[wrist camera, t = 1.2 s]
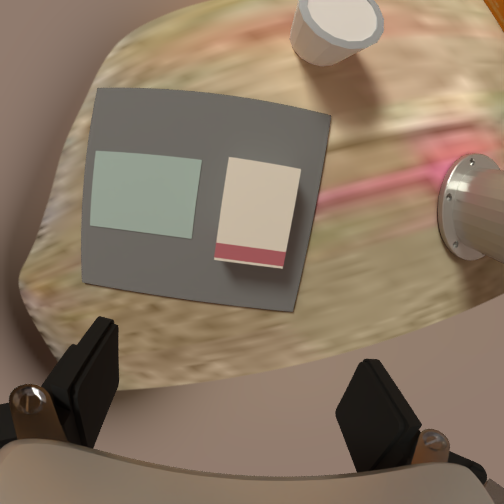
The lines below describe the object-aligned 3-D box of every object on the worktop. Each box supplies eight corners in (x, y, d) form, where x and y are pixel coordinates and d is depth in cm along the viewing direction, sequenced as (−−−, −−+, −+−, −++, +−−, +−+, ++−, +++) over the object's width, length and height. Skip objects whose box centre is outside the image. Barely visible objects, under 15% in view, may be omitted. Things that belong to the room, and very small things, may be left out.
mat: (329, 116, 25) (331, 115, 25) (291, 309, 30) (292, 312, 30) (99, 88, 23) (97, 87, 22) (83, 280, 28) (81, 282, 27)
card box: (228, 157, 25) (228, 156, 22) (291, 168, 26) (301, 169, 23) (215, 247, 28) (213, 259, 24) (276, 255, 28) (282, 268, 25)
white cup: (313, 1, 22) (334, -34, 15) (365, 46, 23) (399, 22, 17) (267, 38, 23) (279, 4, 16) (323, 86, 24) (352, 65, 18)
